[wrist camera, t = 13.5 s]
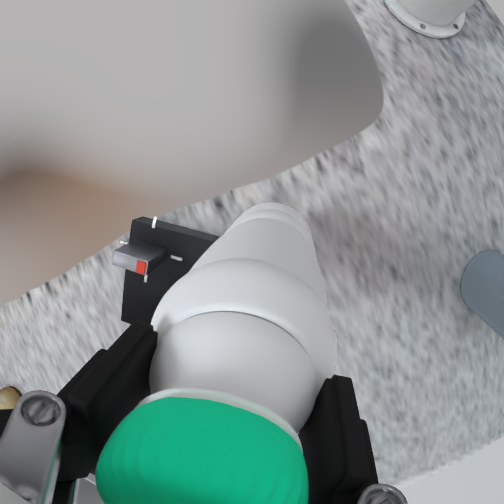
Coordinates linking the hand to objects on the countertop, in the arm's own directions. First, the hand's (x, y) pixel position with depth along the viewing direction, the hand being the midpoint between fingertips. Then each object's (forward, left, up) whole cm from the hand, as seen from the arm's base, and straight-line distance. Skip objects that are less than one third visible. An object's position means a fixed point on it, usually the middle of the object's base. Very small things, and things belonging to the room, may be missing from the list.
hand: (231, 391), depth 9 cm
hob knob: (+6, -13, -27) cm, 31 cm away
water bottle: (0, 0, -20) cm, 20 cm away
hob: (+10, -10, -30) cm, 33 cm away
